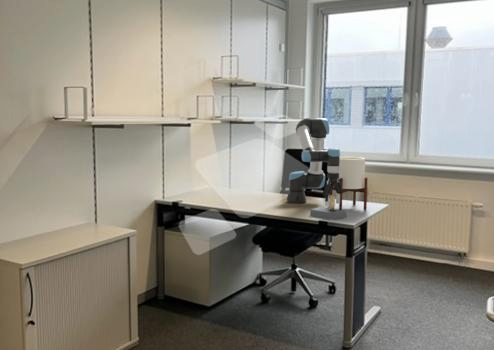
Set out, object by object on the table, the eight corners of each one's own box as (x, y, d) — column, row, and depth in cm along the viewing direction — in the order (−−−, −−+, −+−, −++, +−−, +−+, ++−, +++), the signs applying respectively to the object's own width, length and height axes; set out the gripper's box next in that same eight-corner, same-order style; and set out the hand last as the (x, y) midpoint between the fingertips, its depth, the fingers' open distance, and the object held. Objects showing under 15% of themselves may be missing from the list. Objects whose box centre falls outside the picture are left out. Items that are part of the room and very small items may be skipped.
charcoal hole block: (310, 215, 320) (310, 209, 320) (320, 212, 329) (320, 207, 329) (337, 219, 308) (337, 213, 307) (346, 216, 317) (346, 210, 316)
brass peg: (328, 216, 316) (329, 195, 315) (331, 216, 319) (331, 195, 317) (332, 217, 314) (333, 196, 313) (335, 216, 317) (335, 195, 315)
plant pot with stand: (369, 210, 340) (370, 159, 335) (338, 211, 335) (340, 159, 331) (355, 204, 361) (357, 156, 357) (327, 205, 357) (328, 156, 352)
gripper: (328, 174, 301) (327, 208, 304) (348, 171, 320) (347, 202, 323) (317, 173, 306) (317, 206, 309) (337, 170, 325) (337, 201, 328)
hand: (332, 204), depth 316 cm, fingers open, 13 cm apart
